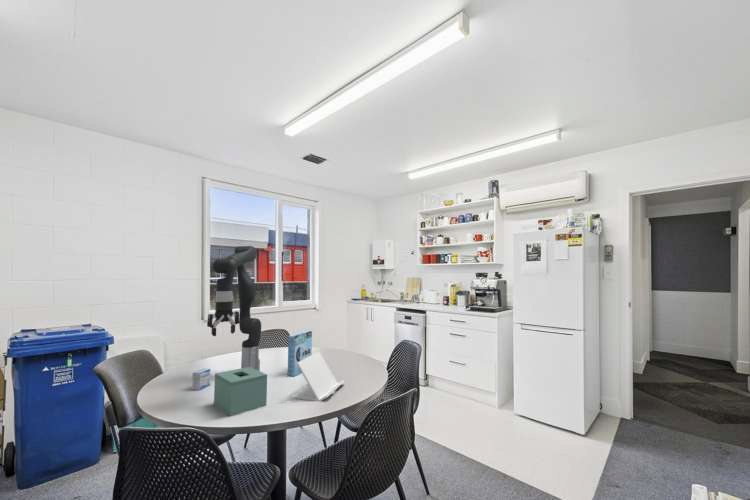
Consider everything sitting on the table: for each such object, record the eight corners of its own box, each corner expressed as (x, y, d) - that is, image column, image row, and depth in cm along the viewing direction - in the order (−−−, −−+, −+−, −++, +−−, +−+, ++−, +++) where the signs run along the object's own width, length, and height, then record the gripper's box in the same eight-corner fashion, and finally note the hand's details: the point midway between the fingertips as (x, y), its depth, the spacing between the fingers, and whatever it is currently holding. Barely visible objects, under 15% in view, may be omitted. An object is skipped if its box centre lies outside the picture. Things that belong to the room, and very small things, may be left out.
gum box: (294, 376, 191) (295, 336, 193) (286, 375, 193) (287, 335, 195) (311, 368, 210) (312, 331, 211) (304, 367, 211) (305, 330, 213)
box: (248, 395, 162) (249, 366, 163) (266, 405, 149) (267, 374, 150) (213, 404, 150) (215, 373, 151) (230, 416, 138) (231, 382, 139)
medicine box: (199, 390, 168) (200, 372, 169) (191, 389, 169) (192, 372, 170) (210, 385, 176) (210, 368, 176) (202, 384, 177) (203, 368, 177)
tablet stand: (291, 398, 158) (292, 362, 159) (313, 382, 182) (314, 350, 184) (327, 402, 154) (327, 364, 155) (345, 385, 178) (345, 352, 179)
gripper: (235, 298, 167) (234, 331, 166) (205, 301, 157) (204, 335, 156) (242, 299, 162) (241, 333, 161) (212, 302, 152) (211, 338, 151)
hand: (223, 334), depth 158 cm, fingers open, 8 cm apart
